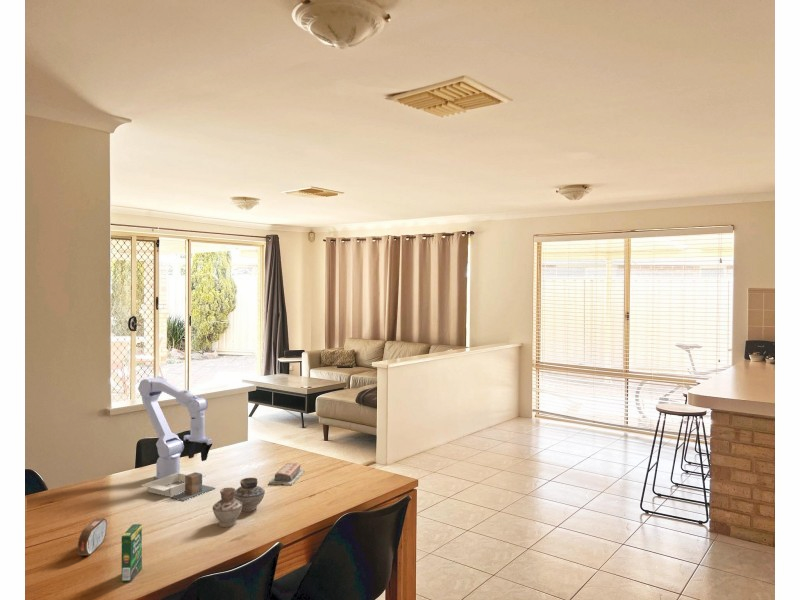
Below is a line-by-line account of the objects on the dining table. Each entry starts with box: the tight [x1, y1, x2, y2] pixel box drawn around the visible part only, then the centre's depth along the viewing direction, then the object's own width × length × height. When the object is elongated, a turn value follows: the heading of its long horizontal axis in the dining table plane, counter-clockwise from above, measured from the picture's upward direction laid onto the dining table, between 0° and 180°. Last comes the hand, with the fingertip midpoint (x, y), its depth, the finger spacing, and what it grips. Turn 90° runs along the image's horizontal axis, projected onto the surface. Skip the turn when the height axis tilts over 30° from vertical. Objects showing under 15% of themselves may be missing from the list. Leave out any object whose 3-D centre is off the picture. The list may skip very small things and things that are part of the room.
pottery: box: [212, 477, 266, 528], centre depth 205 cm, size 11×25×12 cm, turn 166°
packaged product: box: [268, 462, 305, 486], centre depth 247 cm, size 18×5×10 cm
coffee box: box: [121, 523, 143, 583], centre depth 161 cm, size 8×3×13 cm, turn 3°
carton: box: [140, 470, 207, 498], centre depth 232 cm, size 13×21×4 cm, turn 152°
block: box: [185, 471, 203, 495], centre depth 227 cm, size 4×5×7 cm
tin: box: [77, 517, 108, 556], centre depth 177 cm, size 15×3×8 cm, turn 5°
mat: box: [170, 484, 216, 502], centre depth 227 cm, size 7×16×1 cm, turn 152°
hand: (197, 459), depth 242 cm, fingers open, 7 cm apart
